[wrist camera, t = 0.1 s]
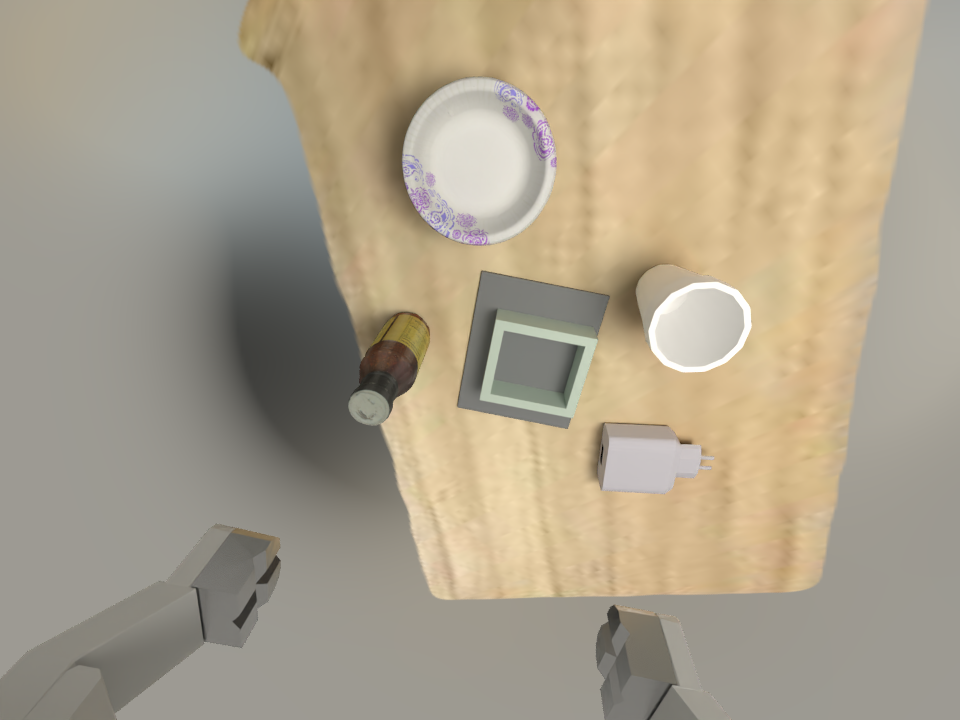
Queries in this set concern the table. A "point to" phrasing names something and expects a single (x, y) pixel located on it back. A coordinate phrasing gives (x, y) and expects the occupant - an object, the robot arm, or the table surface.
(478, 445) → the table surface
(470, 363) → the mat
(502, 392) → the bottle holder
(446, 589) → the table surface
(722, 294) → the foam cup
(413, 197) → the paper bowls
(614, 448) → the charger
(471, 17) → the table surface
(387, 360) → the sauce bottle
